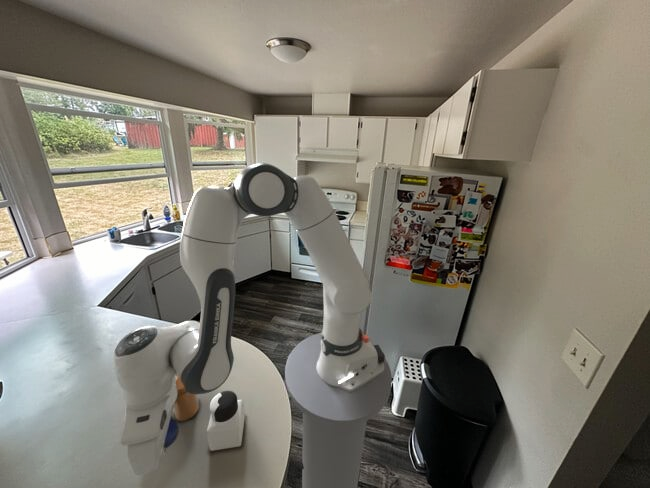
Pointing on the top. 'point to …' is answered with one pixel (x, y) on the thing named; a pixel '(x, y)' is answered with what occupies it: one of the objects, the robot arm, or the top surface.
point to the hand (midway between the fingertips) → (165, 437)
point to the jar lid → (171, 433)
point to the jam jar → (184, 402)
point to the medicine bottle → (225, 421)
